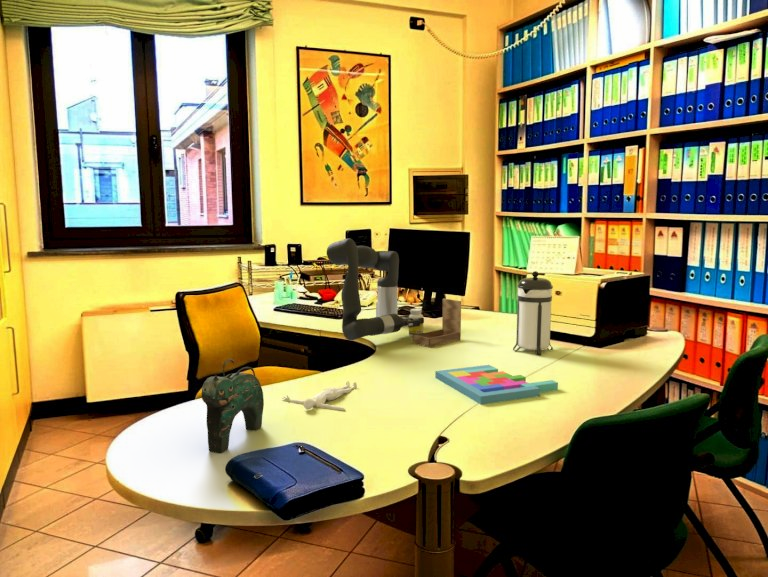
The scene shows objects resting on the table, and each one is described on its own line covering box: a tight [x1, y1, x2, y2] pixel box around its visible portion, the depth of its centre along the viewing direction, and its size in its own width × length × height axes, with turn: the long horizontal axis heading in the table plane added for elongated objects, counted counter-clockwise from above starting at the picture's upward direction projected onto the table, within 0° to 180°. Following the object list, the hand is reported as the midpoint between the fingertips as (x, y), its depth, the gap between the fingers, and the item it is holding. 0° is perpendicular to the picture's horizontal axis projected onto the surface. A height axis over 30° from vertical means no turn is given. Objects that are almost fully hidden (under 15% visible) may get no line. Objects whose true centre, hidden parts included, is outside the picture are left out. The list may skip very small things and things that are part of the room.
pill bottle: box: [408, 308, 424, 337], centre depth 258 cm, size 6×6×11 cm
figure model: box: [281, 380, 358, 412], centre depth 177 cm, size 21×4×25 cm
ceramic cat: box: [201, 358, 265, 454], centre depth 145 cm, size 20×6×20 cm, turn 158°
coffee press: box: [512, 270, 554, 356], centre depth 231 cm, size 17×16×30 cm
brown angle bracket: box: [412, 298, 462, 348], centre depth 246 cm, size 9×18×16 cm, turn 132°
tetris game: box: [434, 364, 559, 405], centre depth 189 cm, size 28×3×28 cm
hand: (416, 318), depth 258 cm, fingers open, 8 cm apart
